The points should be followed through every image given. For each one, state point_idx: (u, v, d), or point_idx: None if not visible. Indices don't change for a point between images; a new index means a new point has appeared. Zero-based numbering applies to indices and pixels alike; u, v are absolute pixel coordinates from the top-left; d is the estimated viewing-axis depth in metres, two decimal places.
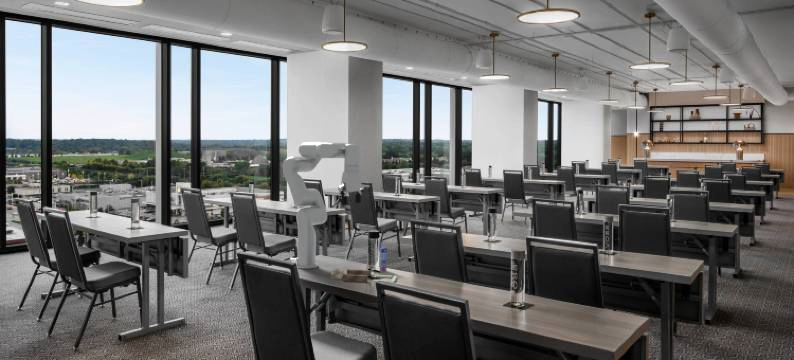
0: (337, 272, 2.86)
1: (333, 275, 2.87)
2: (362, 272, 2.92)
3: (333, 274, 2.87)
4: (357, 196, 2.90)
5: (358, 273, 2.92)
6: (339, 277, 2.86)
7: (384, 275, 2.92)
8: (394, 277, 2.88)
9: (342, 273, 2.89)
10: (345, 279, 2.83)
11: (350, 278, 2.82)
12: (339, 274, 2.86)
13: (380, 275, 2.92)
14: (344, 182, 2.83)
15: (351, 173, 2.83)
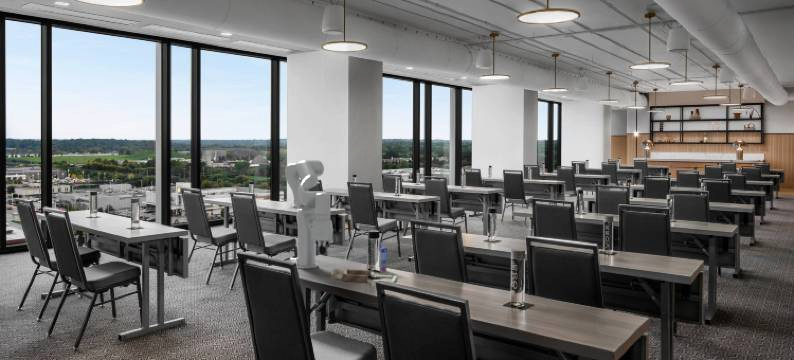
0: (337, 272, 2.86)
1: (333, 275, 2.87)
2: (362, 272, 2.92)
3: (333, 274, 2.87)
4: None
5: (358, 273, 2.92)
6: (339, 277, 2.86)
7: (384, 275, 2.92)
8: (394, 277, 2.88)
9: (342, 273, 2.89)
10: (345, 279, 2.83)
11: (350, 278, 2.82)
12: (339, 274, 2.86)
13: (380, 275, 2.92)
14: (332, 230, 2.87)
15: None
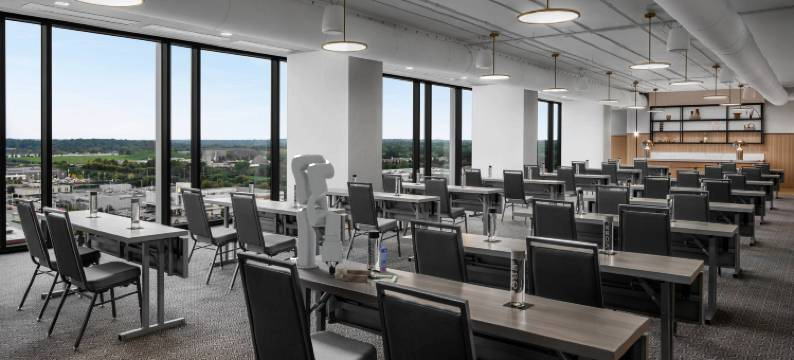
0: (341, 272, 2.86)
1: (337, 275, 2.87)
2: (362, 272, 2.92)
3: (337, 274, 2.87)
4: None
5: (358, 273, 2.92)
6: None
7: (384, 275, 2.92)
8: (394, 277, 2.88)
9: (346, 273, 2.89)
10: (345, 279, 2.83)
11: (350, 278, 2.82)
12: None
13: (380, 275, 2.92)
14: (342, 251, 2.88)
15: None
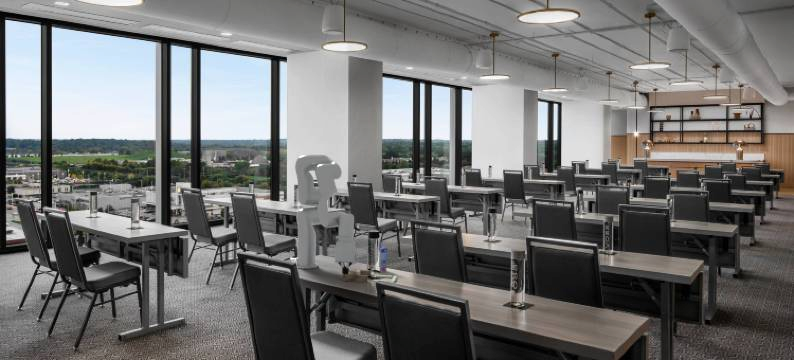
0: (354, 273, 2.85)
1: None
2: (362, 272, 2.92)
3: None
4: None
5: None
6: None
7: (384, 275, 2.92)
8: (394, 277, 2.88)
9: (359, 274, 2.88)
10: (345, 279, 2.83)
11: (350, 278, 2.82)
12: None
13: (380, 275, 2.92)
14: (355, 252, 2.87)
15: None
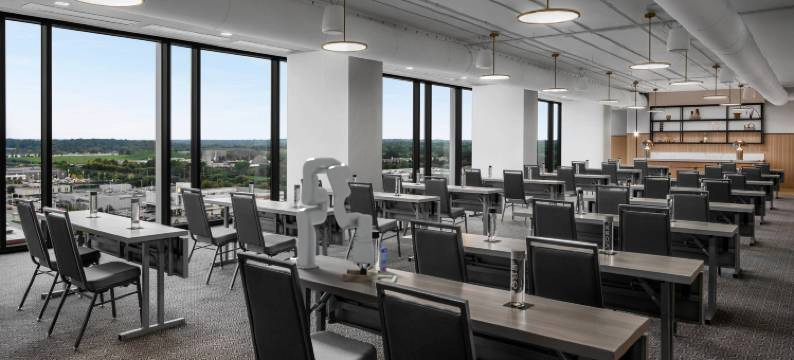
0: (373, 273, 2.85)
1: (368, 277, 2.85)
2: None
3: (369, 276, 2.85)
4: None
5: (358, 273, 2.92)
6: (375, 278, 2.85)
7: (384, 275, 2.92)
8: (394, 277, 2.88)
9: (377, 274, 2.88)
10: (345, 279, 2.83)
11: (350, 278, 2.82)
12: (375, 275, 2.85)
13: (380, 275, 2.92)
14: (373, 252, 2.86)
15: None
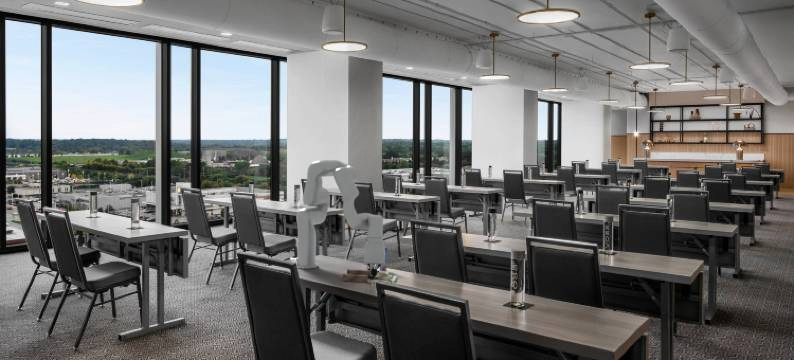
0: (383, 274, 2.84)
1: (379, 278, 2.85)
2: (362, 272, 2.92)
3: (380, 277, 2.84)
4: None
5: (358, 273, 2.92)
6: (385, 279, 2.84)
7: None
8: (394, 277, 2.88)
9: (388, 275, 2.87)
10: (345, 279, 2.83)
11: (350, 278, 2.82)
12: (385, 276, 2.84)
13: None
14: (384, 253, 2.85)
15: None
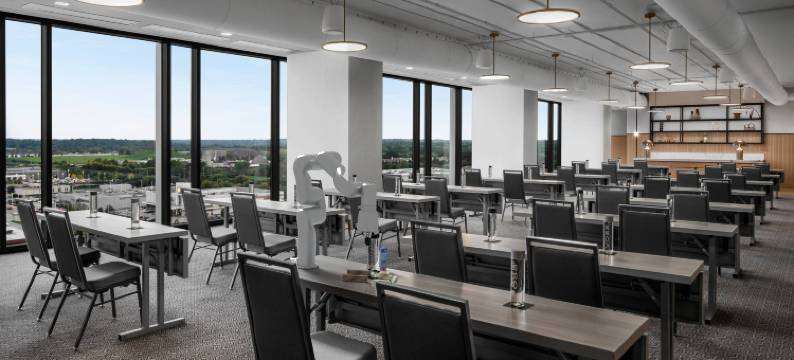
0: (384, 274, 2.84)
1: (380, 278, 2.85)
2: (362, 272, 2.92)
3: (381, 277, 2.84)
4: None
5: (358, 273, 2.92)
6: (386, 279, 2.84)
7: None
8: (394, 277, 2.88)
9: (389, 275, 2.87)
10: (345, 279, 2.83)
11: (350, 278, 2.82)
12: (386, 276, 2.84)
13: None
14: None
15: None
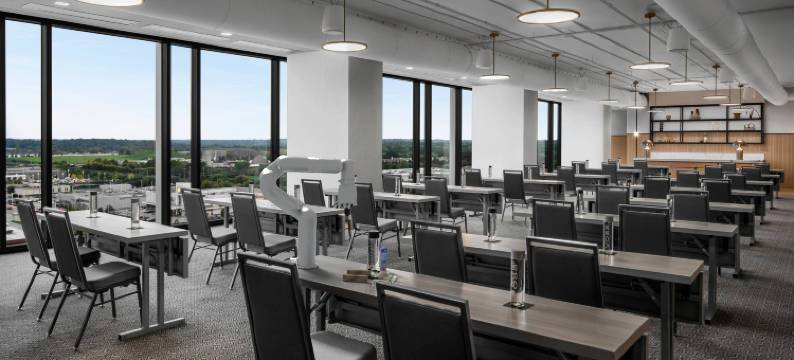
0: (384, 274, 2.84)
1: (380, 278, 2.85)
2: (362, 272, 2.92)
3: (381, 277, 2.84)
4: None
5: (358, 273, 2.92)
6: (386, 279, 2.84)
7: None
8: (394, 277, 2.88)
9: (389, 275, 2.87)
10: (345, 279, 2.83)
11: (350, 278, 2.82)
12: (386, 276, 2.84)
13: None
14: (356, 194, 3.13)
15: None
